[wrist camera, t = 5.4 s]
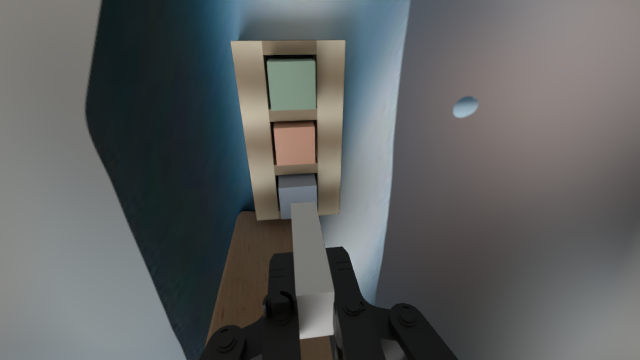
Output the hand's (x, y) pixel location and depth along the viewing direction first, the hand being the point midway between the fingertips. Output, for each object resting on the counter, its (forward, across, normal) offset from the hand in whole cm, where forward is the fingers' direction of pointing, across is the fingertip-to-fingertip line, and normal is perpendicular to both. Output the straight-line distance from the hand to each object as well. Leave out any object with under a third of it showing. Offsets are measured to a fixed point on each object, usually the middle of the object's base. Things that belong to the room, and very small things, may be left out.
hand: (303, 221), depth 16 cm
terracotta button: (+16, 0, 0) cm, 16 cm away
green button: (+15, 0, -6) cm, 16 cm away
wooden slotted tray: (+17, 0, 0) cm, 17 cm away
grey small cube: (+15, 0, +6) cm, 16 cm away
